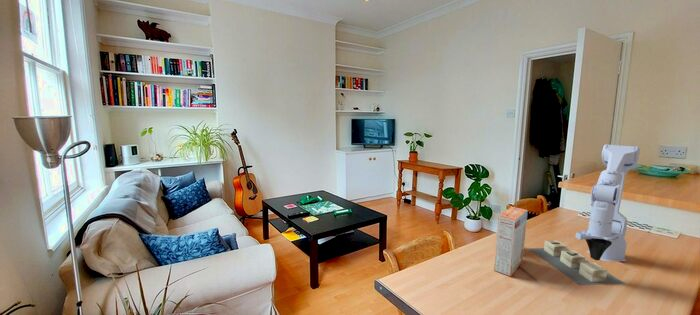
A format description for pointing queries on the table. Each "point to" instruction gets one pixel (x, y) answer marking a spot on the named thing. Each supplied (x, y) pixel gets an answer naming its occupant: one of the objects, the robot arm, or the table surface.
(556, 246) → the block one
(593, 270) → the block plain
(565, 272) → the mat
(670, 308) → the table surface
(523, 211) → the cracker box
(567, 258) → the block seven
